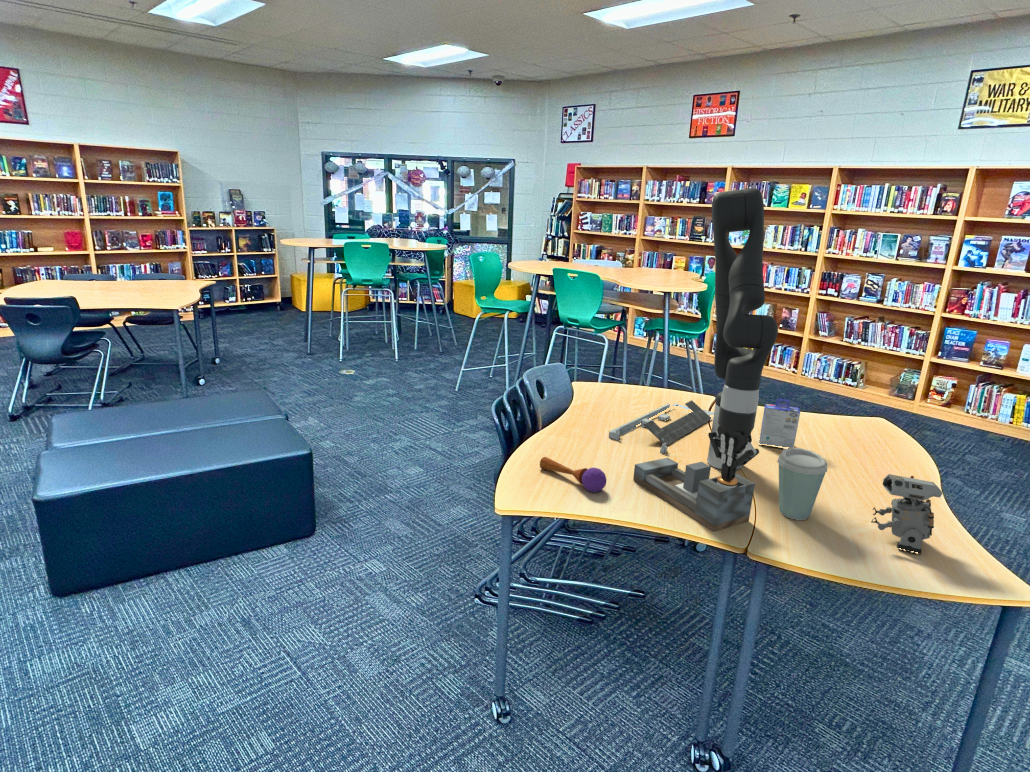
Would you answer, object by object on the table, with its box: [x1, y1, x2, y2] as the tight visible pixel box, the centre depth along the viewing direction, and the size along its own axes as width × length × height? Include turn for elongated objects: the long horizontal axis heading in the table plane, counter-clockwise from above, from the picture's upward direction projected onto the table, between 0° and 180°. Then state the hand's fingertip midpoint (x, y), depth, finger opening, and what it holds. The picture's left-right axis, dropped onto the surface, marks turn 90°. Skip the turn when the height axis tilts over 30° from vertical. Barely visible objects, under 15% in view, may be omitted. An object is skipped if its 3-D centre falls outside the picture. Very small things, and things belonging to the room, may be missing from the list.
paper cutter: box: [608, 400, 714, 454], centre depth 198 cm, size 18×45×6 cm, turn 140°
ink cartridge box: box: [758, 397, 801, 448], centre depth 185 cm, size 10×6×14 cm, turn 70°
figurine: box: [871, 473, 943, 554], centre depth 132 cm, size 9×12×15 cm
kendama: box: [539, 456, 607, 493], centre depth 157 cm, size 6×6×20 cm
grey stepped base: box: [632, 457, 756, 532], centre depth 148 cm, size 11×28×10 cm, turn 28°
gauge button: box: [717, 474, 738, 489], centre depth 138 cm, size 4×4×4 cm
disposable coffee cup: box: [776, 447, 828, 521], centre depth 142 cm, size 11×11×15 cm
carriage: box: [675, 461, 712, 501], centre depth 146 cm, size 6×7×8 cm
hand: (727, 479), depth 137 cm, fingers closed
